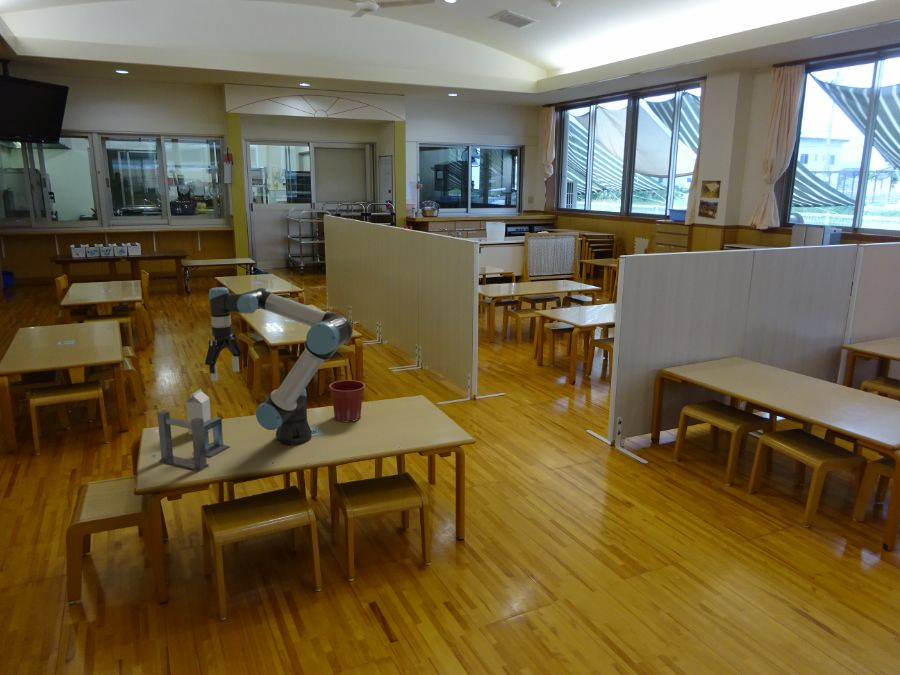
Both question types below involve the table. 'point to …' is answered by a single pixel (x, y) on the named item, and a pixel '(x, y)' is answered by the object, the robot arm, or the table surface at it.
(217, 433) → the bracket
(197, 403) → the milk carton
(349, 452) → the table surface
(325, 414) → the table surface
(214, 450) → the mat
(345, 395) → the flower pot
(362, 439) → the table surface
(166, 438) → the rail
